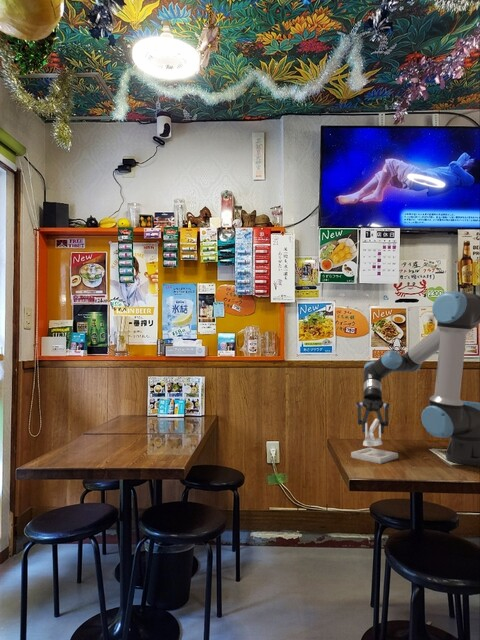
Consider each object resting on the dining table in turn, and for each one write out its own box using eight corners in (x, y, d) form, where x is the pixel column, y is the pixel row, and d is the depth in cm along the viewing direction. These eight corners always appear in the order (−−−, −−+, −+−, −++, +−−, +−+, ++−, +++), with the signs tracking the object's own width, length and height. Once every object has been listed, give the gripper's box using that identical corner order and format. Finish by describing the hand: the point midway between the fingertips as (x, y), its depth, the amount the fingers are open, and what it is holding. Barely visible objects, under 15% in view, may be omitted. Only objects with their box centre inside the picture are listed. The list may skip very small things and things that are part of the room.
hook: (395, 429, 173) (381, 422, 171) (380, 456, 173) (366, 448, 171) (386, 423, 180) (372, 415, 178) (371, 448, 180) (358, 441, 179)
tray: (398, 458, 174) (398, 453, 174) (380, 463, 166) (380, 458, 166) (369, 452, 184) (369, 447, 184) (351, 457, 175) (351, 452, 175)
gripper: (394, 398, 189) (396, 446, 172) (352, 397, 194) (350, 443, 177) (394, 387, 184) (397, 435, 167) (351, 386, 189) (349, 432, 172)
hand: (373, 439), depth 172 cm, fingers closed on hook, 4 cm apart
